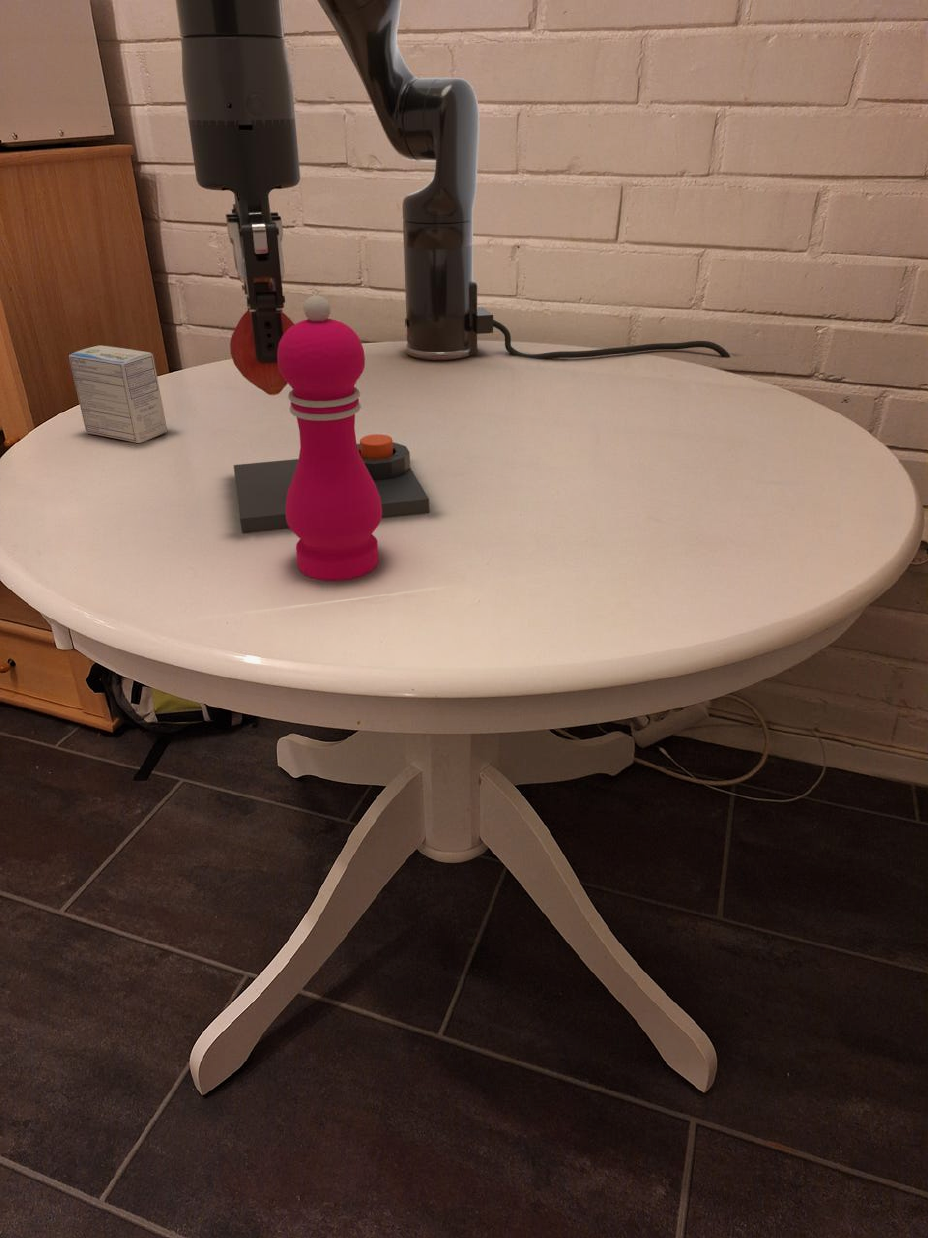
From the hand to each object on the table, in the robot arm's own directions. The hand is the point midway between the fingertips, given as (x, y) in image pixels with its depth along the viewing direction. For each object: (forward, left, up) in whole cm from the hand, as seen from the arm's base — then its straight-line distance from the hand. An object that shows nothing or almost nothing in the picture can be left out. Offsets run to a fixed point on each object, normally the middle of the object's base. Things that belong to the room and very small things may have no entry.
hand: (268, 350), depth 73 cm
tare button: (-9, -4, -11) cm, 15 cm away
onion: (0, 0, -4) cm, 4 cm away
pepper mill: (-3, +12, -14) cm, 19 cm away
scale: (-4, -2, -14) cm, 14 cm away
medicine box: (+15, -25, -14) cm, 32 cm away
